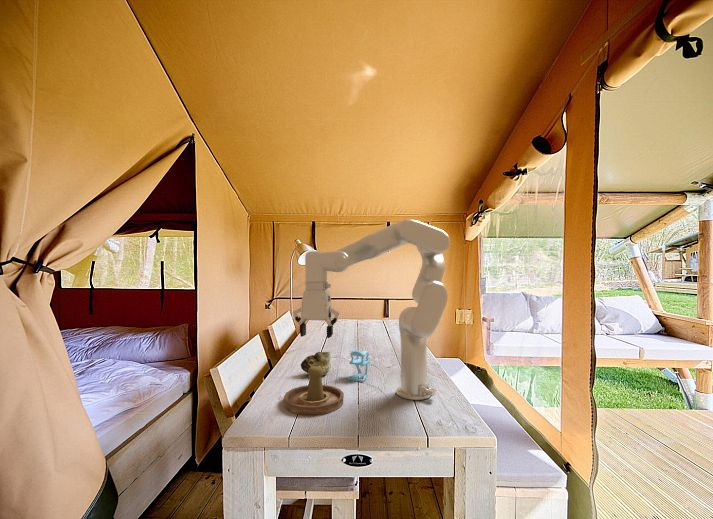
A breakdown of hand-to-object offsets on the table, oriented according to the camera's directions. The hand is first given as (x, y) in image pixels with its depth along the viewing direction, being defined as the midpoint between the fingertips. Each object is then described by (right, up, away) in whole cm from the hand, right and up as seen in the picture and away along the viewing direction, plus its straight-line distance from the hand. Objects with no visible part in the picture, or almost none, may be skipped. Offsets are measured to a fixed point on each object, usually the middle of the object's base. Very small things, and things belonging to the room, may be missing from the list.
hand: (316, 336), depth 115 cm
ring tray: (-1, -22, -1) cm, 22 cm away
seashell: (-3, -23, +29) cm, 37 cm away
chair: (+15, -23, +24) cm, 37 cm away
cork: (0, -22, -1) cm, 22 cm away
